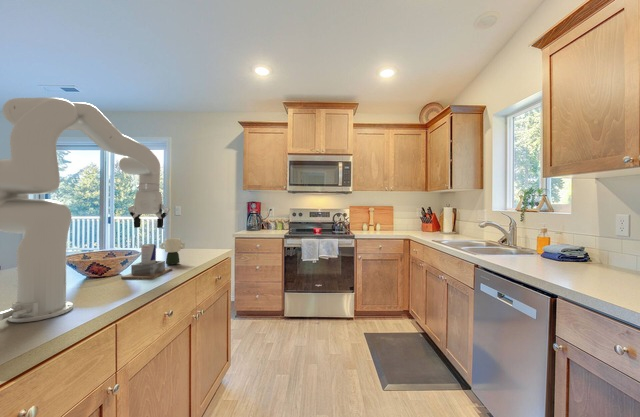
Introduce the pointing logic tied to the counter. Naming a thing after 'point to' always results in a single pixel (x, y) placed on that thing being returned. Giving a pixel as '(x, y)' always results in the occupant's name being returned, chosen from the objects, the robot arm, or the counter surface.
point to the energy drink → (148, 254)
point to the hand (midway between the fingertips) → (148, 227)
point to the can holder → (147, 271)
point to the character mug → (172, 250)
